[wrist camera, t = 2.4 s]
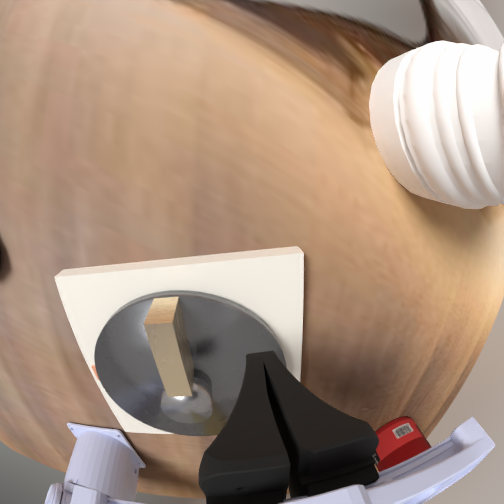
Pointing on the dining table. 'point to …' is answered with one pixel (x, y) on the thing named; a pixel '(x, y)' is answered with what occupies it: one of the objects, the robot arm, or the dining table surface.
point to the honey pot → (443, 122)
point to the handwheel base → (191, 279)
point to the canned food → (398, 443)
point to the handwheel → (180, 359)
